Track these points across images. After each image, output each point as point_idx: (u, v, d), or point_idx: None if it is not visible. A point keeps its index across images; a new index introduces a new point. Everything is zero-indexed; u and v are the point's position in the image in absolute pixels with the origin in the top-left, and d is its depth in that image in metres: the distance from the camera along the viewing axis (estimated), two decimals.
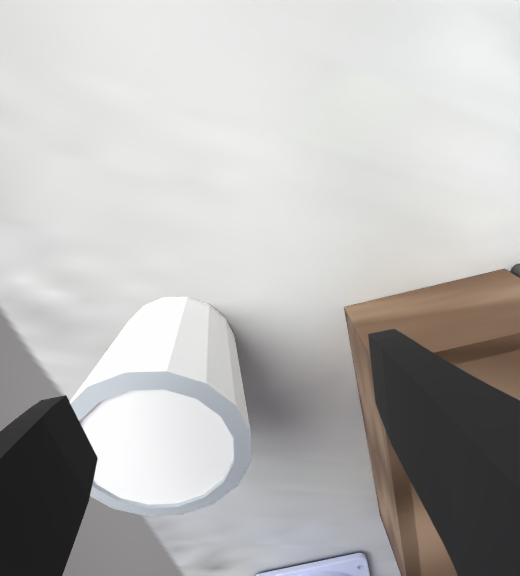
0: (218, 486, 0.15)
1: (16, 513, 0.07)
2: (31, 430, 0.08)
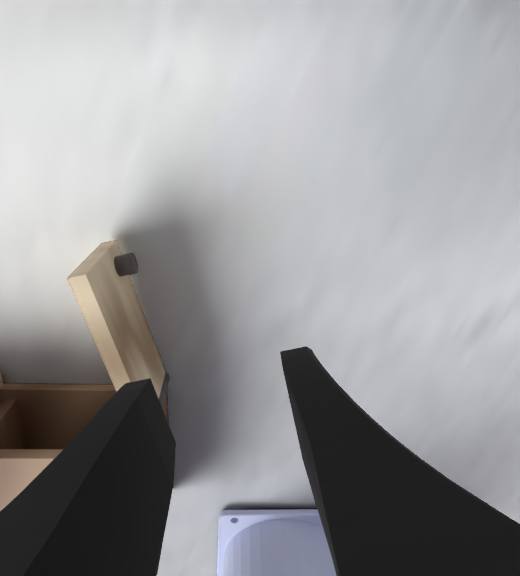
0: None
1: (125, 492, 0.07)
2: (130, 410, 0.08)
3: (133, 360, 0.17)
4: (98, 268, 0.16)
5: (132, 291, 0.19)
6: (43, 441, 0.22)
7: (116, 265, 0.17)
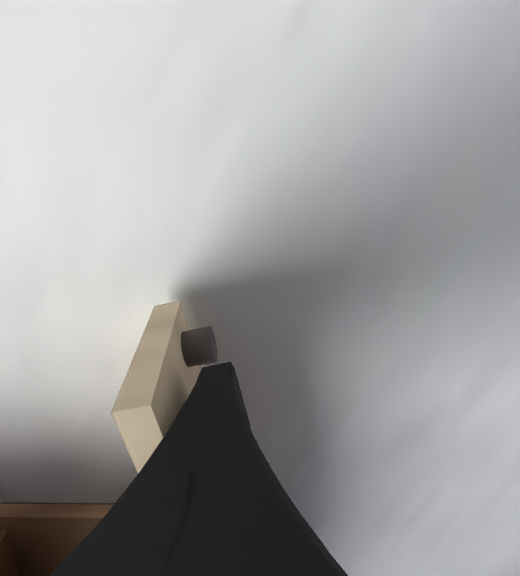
0: None
1: None
2: None
3: None
4: (165, 375, 0.08)
5: None
6: None
7: (185, 352, 0.10)
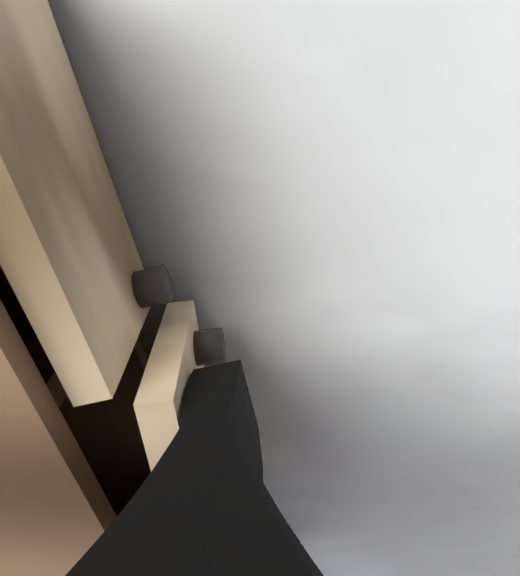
0: None
1: None
2: (235, 389, 0.08)
3: None
4: (182, 372, 0.08)
5: None
6: None
7: (197, 350, 0.10)
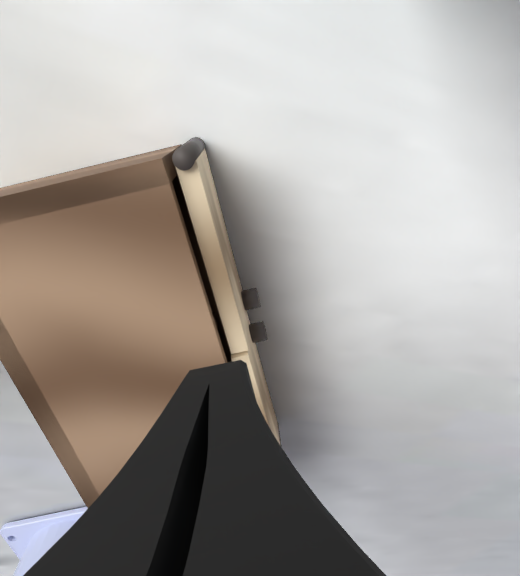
0: None
1: None
2: (205, 395, 0.08)
3: (270, 420, 0.19)
4: (248, 344, 0.17)
5: (257, 352, 0.20)
6: None
7: (252, 334, 0.19)
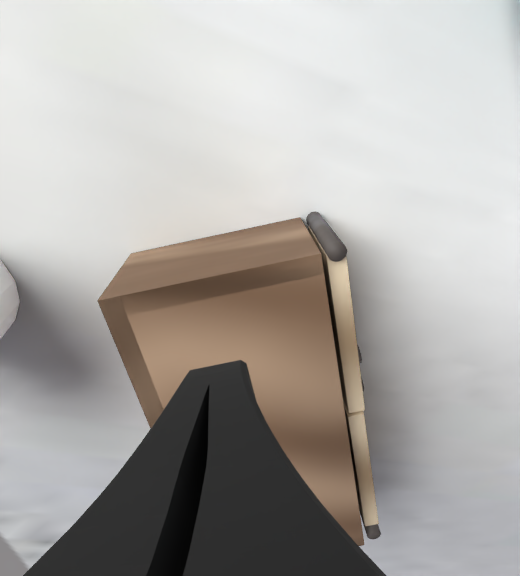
0: None
1: None
2: (205, 395, 0.08)
3: None
4: None
5: None
6: None
7: None
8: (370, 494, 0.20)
